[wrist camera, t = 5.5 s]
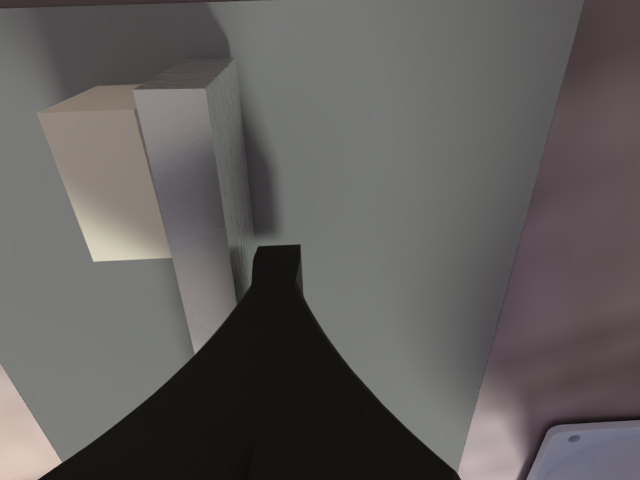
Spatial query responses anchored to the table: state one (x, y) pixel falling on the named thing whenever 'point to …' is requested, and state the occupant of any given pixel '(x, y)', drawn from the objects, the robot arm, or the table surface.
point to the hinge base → (275, 190)
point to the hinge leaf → (201, 185)
